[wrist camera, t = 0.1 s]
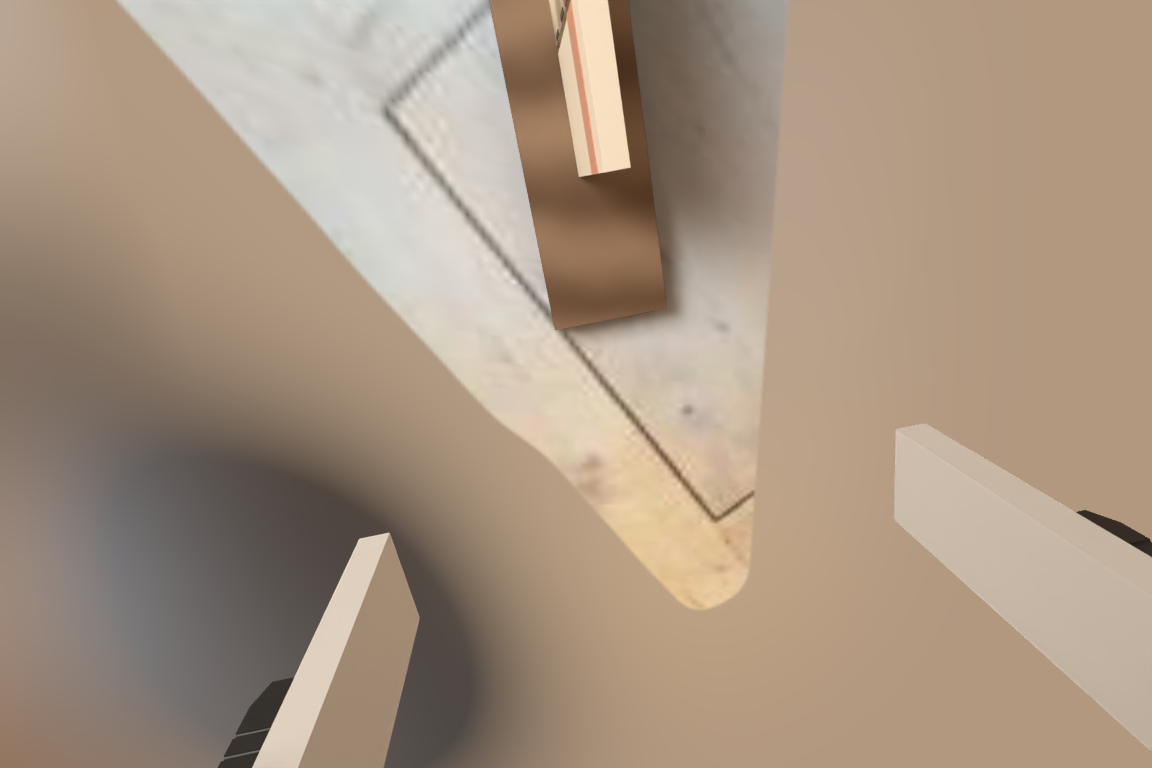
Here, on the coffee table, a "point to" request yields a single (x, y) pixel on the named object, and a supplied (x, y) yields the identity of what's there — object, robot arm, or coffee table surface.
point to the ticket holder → (556, 192)
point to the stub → (593, 89)
